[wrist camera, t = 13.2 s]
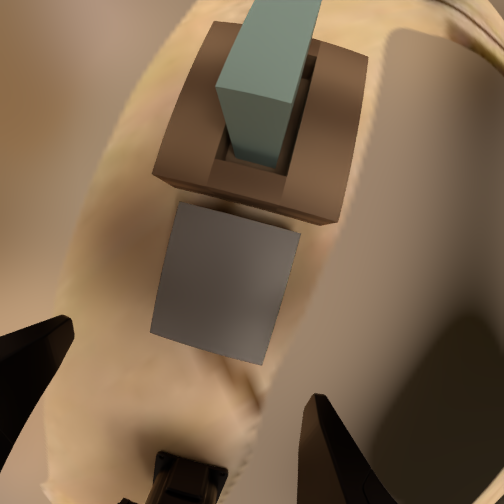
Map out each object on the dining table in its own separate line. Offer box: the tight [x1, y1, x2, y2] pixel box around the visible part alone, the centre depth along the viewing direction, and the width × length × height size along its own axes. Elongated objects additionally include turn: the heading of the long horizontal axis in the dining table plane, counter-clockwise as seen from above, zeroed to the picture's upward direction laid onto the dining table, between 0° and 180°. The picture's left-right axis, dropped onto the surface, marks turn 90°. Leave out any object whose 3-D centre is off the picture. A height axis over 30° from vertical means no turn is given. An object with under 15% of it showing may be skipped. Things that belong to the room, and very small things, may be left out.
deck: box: [150, 201, 301, 365], centre depth 17 cm, size 8×7×3 cm
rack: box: [152, 21, 368, 226], centre depth 16 cm, size 11×10×4 cm
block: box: [215, 0, 322, 169], centre depth 12 cm, size 6×2×9 cm, turn 164°
